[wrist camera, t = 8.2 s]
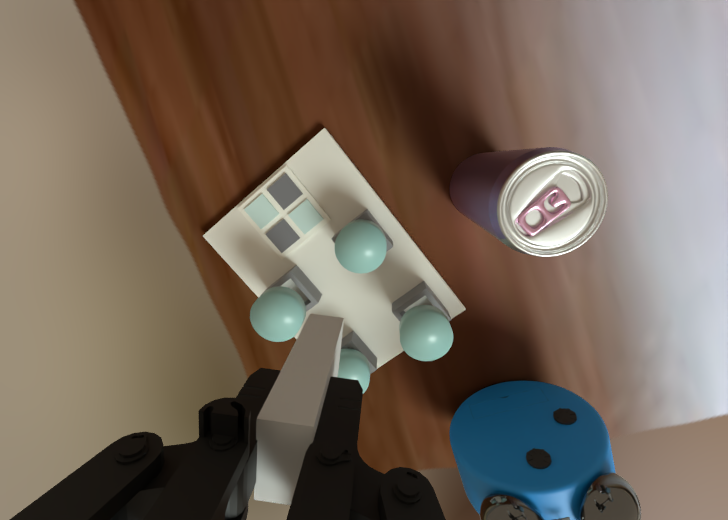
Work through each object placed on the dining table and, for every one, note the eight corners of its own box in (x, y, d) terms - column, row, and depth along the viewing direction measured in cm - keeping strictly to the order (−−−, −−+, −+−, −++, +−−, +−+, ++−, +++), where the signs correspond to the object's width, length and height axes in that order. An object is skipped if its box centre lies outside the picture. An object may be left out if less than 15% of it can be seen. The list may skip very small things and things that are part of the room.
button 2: (290, 269, 33) (277, 283, 29) (320, 304, 34) (312, 322, 30) (256, 296, 34) (239, 313, 30) (286, 329, 35) (274, 350, 31)
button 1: (367, 206, 33) (364, 212, 29) (396, 242, 34) (397, 253, 30) (331, 234, 34) (323, 244, 30) (360, 269, 35) (356, 283, 31)
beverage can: (435, 184, 33) (471, 202, 19) (486, 138, 32) (567, 120, 18) (475, 231, 34) (539, 282, 20) (527, 188, 33) (635, 209, 18)
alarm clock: (452, 437, 41) (488, 588, 26) (438, 392, 39) (468, 526, 25) (570, 412, 39) (678, 560, 24) (560, 364, 37) (668, 491, 23)
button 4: (353, 329, 36) (349, 349, 33) (379, 360, 37) (378, 383, 33) (321, 352, 37) (313, 374, 34) (347, 382, 38) (342, 406, 34)
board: (325, 128, 33) (319, 125, 30) (464, 306, 36) (470, 318, 33) (206, 234, 36) (190, 240, 33) (344, 386, 40) (340, 404, 37)
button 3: (427, 286, 33) (432, 303, 29) (454, 321, 33) (463, 342, 29) (388, 313, 34) (389, 332, 30) (416, 346, 34) (420, 370, 30)
